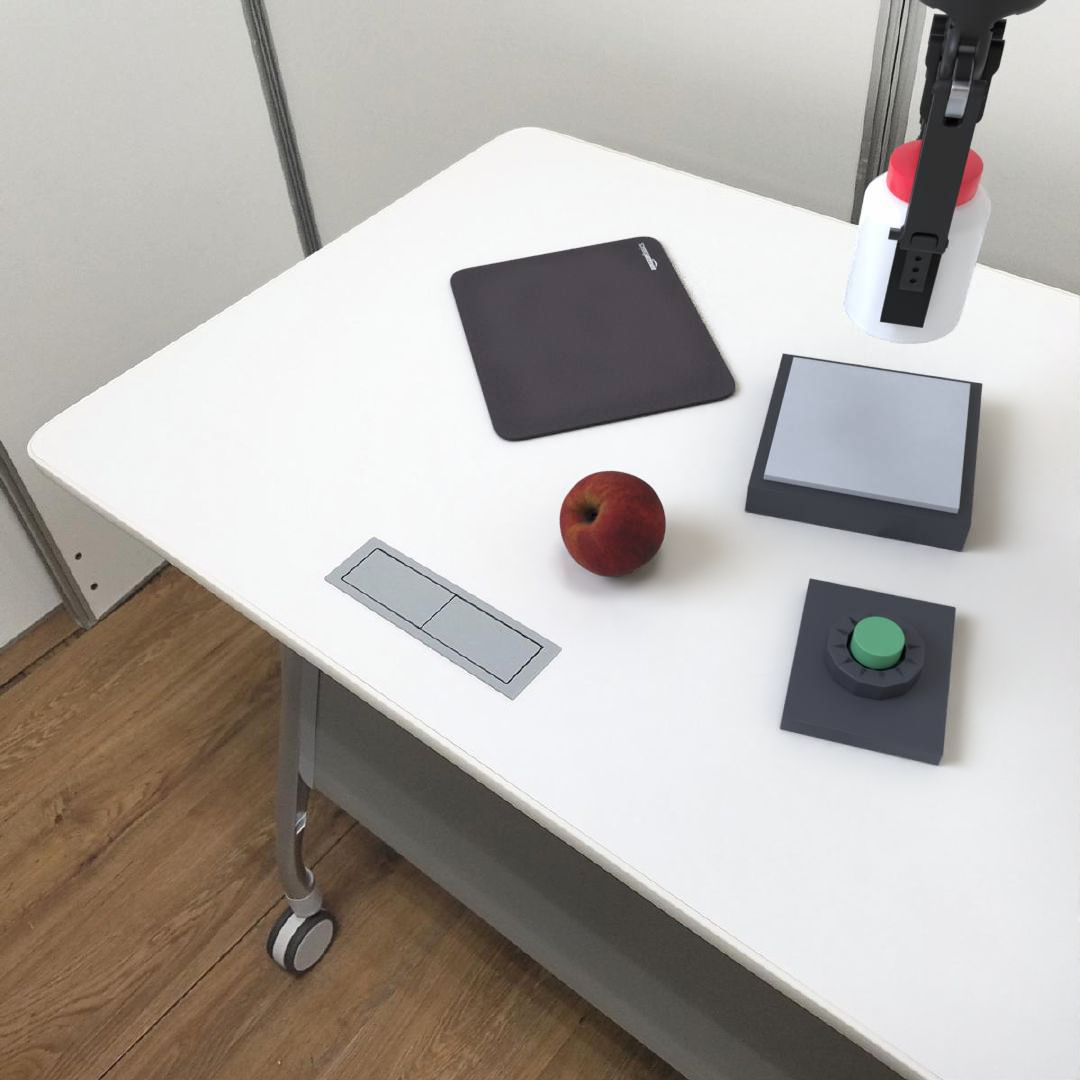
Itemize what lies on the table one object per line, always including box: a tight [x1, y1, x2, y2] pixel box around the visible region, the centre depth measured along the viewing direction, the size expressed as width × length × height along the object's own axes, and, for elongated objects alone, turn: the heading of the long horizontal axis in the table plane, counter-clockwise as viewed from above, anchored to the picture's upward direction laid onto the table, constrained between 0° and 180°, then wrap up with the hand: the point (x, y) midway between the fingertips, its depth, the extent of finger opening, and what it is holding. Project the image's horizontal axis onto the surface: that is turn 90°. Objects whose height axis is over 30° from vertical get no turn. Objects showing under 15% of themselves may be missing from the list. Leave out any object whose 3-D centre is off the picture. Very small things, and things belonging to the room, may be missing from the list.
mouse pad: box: [449, 235, 736, 441], centre depth 99 cm, size 25×21×1 cm
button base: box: [779, 578, 957, 766], centre depth 73 cm, size 12×10×3 cm
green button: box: [851, 617, 905, 669], centre depth 71 cm, size 3×3×2 cm
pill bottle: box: [843, 139, 992, 345], centre depth 71 cm, size 8×8×11 cm
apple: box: [559, 470, 667, 577], centre depth 79 cm, size 7×8×8 cm
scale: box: [744, 353, 983, 553], centre depth 86 cm, size 16×16×3 cm
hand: (907, 282), depth 73 cm, fingers closed on pill bottle, 8 cm apart
